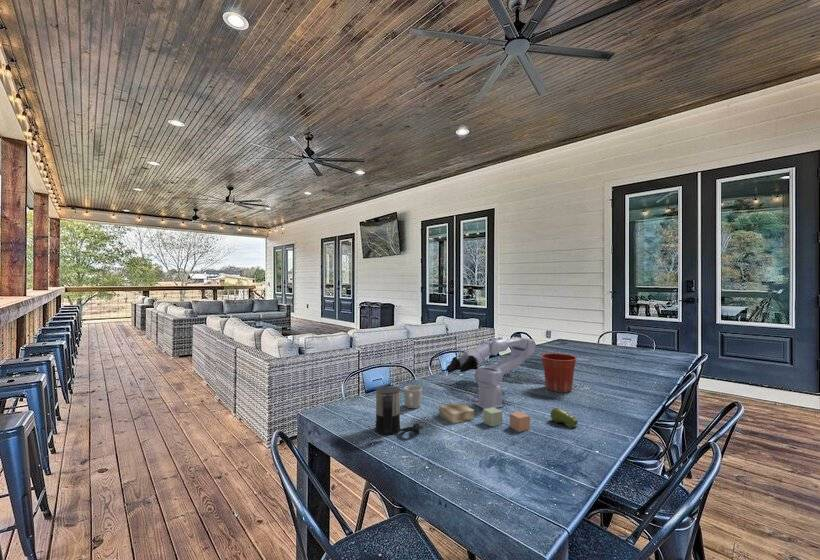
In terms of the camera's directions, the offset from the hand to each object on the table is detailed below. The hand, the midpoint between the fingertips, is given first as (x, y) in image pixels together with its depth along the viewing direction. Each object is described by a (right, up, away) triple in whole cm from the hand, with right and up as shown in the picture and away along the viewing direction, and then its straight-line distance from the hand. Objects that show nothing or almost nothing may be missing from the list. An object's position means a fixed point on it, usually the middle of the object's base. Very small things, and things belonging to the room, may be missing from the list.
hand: (453, 370), depth 147 cm
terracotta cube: (+23, -19, -10) cm, 31 cm away
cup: (-16, -19, +11) cm, 27 cm away
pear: (+41, -19, -6) cm, 46 cm away
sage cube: (+14, -19, -6) cm, 24 cm away
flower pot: (+56, -19, +38) cm, 70 cm away
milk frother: (-21, -19, -13) cm, 31 cm away
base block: (+1, -19, 0) cm, 19 cm away
